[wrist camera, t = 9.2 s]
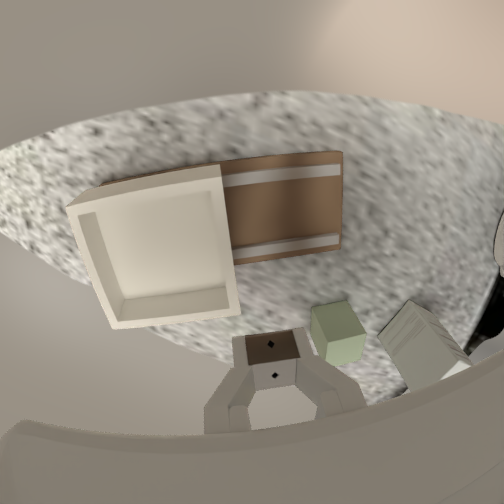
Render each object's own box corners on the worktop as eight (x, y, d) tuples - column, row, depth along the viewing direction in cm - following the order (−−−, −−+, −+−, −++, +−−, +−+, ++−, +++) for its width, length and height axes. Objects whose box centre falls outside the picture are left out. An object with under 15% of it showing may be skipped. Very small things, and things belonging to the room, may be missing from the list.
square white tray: (218, 159, 23) (221, 176, 18) (234, 274, 28) (241, 314, 23) (94, 183, 22) (65, 207, 17) (126, 289, 28) (112, 329, 22)
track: (339, 150, 25) (345, 153, 24) (337, 245, 30) (342, 251, 29) (101, 183, 24) (96, 188, 23) (128, 276, 29) (125, 283, 28)
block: (346, 300, 34) (366, 333, 29) (343, 326, 36) (360, 359, 31) (311, 306, 34) (327, 342, 29) (310, 333, 36) (324, 369, 31)
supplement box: (402, 345, 41) (438, 405, 30) (375, 335, 39) (415, 403, 27) (432, 311, 39) (477, 368, 28) (409, 297, 36) (460, 361, 25)
